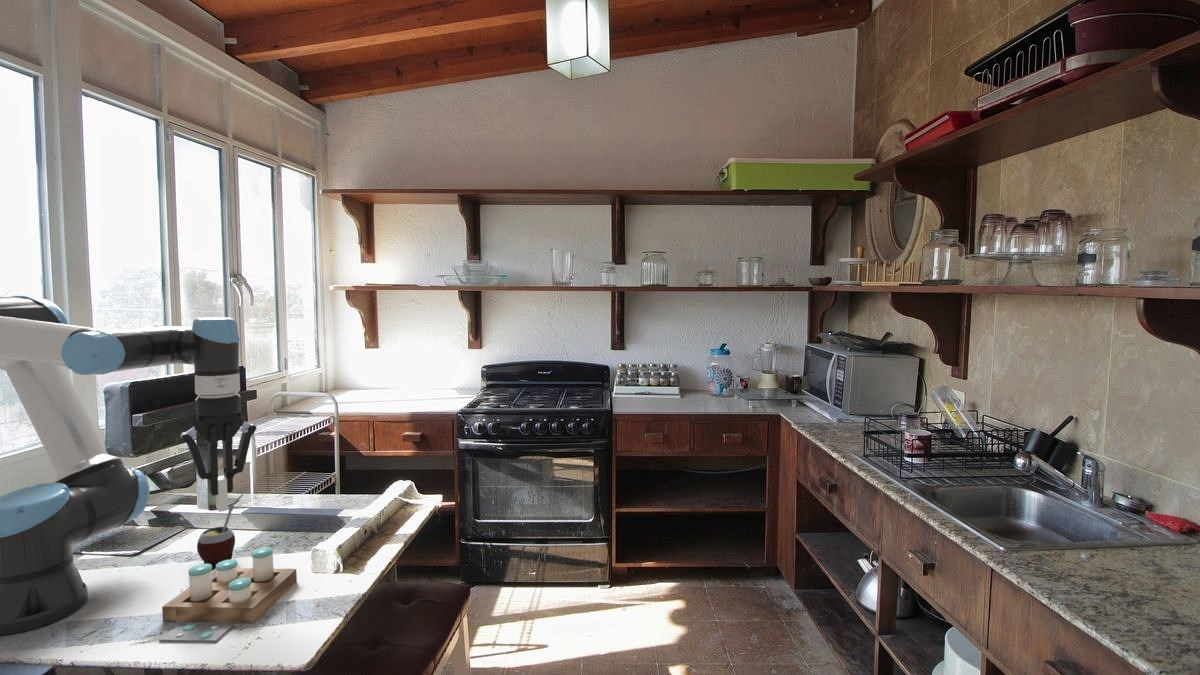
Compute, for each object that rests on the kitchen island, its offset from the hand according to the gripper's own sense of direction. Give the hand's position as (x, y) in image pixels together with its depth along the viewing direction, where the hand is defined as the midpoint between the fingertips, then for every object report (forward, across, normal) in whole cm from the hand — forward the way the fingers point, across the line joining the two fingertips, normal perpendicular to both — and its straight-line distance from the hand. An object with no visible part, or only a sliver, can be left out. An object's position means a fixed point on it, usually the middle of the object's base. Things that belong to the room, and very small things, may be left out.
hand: (222, 508), depth 117 cm
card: (+17, -7, -14) cm, 23 cm away
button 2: (+17, 0, -1) cm, 17 cm away
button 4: (+14, +6, -6) cm, 16 cm away
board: (+17, 0, -6) cm, 18 cm away
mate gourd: (+18, +2, +14) cm, 22 cm away
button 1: (+14, -5, -6) cm, 16 cm away
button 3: (+17, 0, -11) cm, 20 cm away
